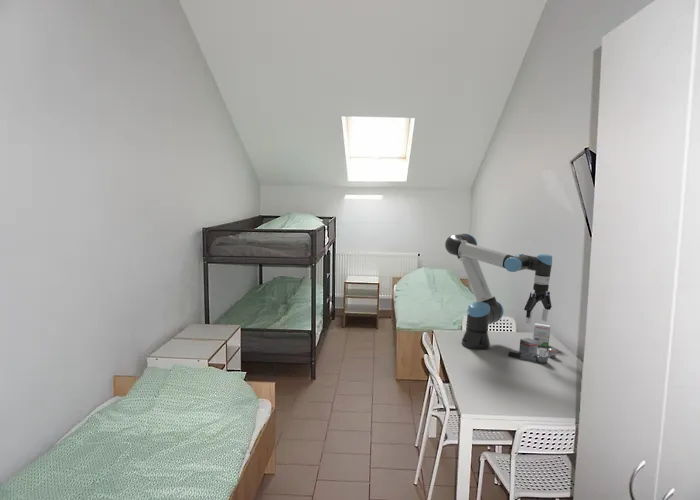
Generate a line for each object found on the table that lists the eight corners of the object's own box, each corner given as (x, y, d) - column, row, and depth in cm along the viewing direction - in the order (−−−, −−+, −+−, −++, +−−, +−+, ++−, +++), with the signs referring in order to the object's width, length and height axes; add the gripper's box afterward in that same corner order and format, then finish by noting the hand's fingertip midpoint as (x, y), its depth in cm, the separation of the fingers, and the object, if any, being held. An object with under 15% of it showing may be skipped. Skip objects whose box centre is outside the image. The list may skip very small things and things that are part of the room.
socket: (518, 351, 281) (520, 339, 280) (527, 350, 284) (528, 337, 283) (528, 355, 275) (529, 342, 274) (536, 354, 278) (538, 341, 277)
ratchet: (507, 356, 271) (509, 343, 270) (510, 353, 276) (511, 341, 275) (546, 365, 262) (547, 351, 261) (548, 361, 267) (549, 348, 266)
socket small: (546, 357, 274) (547, 349, 273) (548, 355, 277) (549, 347, 277) (555, 359, 272) (556, 350, 271) (556, 357, 275) (557, 348, 275)
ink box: (548, 344, 296) (550, 324, 295) (548, 347, 292) (550, 327, 290) (532, 342, 299) (534, 322, 297) (532, 344, 294) (534, 324, 293)
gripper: (532, 286, 264) (527, 326, 267) (561, 283, 278) (556, 321, 281) (520, 283, 270) (515, 322, 273) (549, 280, 284) (544, 317, 287)
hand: (536, 322), depth 277 cm, fingers open, 13 cm apart
